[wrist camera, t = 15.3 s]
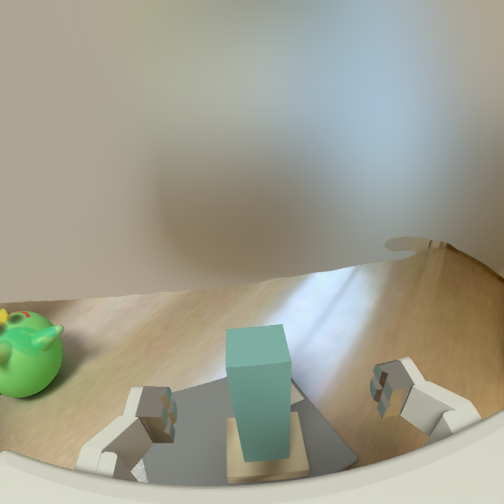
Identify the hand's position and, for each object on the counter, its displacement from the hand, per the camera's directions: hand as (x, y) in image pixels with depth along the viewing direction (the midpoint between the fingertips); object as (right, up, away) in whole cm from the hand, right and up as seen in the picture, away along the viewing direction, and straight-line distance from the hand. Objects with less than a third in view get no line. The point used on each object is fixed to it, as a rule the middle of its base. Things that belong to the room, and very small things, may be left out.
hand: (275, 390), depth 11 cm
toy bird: (-41, -19, +31) cm, 54 cm away
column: (+1, -17, +20) cm, 26 cm away
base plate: (-3, -19, +23) cm, 30 cm away
